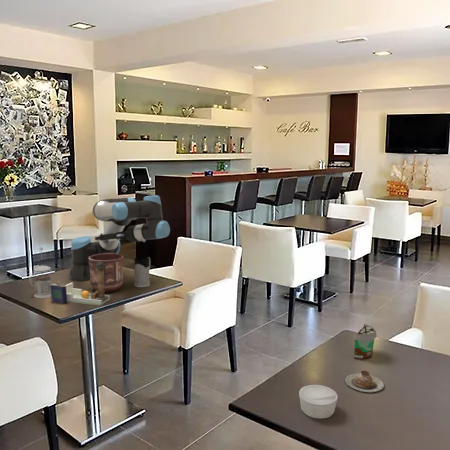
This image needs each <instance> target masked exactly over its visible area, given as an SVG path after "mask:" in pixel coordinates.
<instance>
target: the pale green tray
mask: <svg viewBox="0 0 450 450" xmlns="http://www.w3.org/2000/svg"><path fill="white" fill-rule="evenodd" d="M65 286H66V295H67V303H75V304H83V305H94V306H102V305H104V304H105V303H106V302H108V301H110V300H111V296H110V294H109V295H108V294H106V295H107V296H108V298H107V299H106V300H104V301H102V300H95V299H91V294H92V293H91V292H89V297H88V298H86V299H85V298H82V297H81V293H82V291H83V289H82V288H74V282H73V281H72V282H70V283H67V284H65Z"/></svg>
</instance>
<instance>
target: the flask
mask: <svg viewBox="0 0 450 450" xmlns="http://www.w3.org/2000/svg"><path fill="white" fill-rule="evenodd" d="M65 285H66V284H65ZM65 285H64V284H63V283H61V281H60V280H58V281H56V283H51V285H50V287H51V296H50V302H51V303H53V304H54V303H55V304H60V305H67V304H68V302H67V295H66V286H65Z"/></svg>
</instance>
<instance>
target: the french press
mask: <svg viewBox="0 0 450 450" xmlns="http://www.w3.org/2000/svg"><path fill="white" fill-rule="evenodd" d="M38 250H40V254H41V256H40V257H41V259H43V257H42V256H43V254H42V253H43V252H42V250H44V247H43V246H41V247H40V246H39V248H38ZM33 270H34V271H35V272H42V274H39V275H37V273H35V272H33V273H31V275H30V276H29V279H28V280H29V284H30V286H32V287H34V289H35V291H34V292H35V294H34V295H33V298H37V299H44V298H51V287H50V285H51V284H52V278H51V275H50V274H43V273H44V272H47V271H50V270H51V267H50V266H47V265H43V264H41V265H39V266H37V267H34V269H33ZM34 276H35V280H34V285H33V283H32V280H33V277H34Z"/></svg>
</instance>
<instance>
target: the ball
mask: <svg viewBox="0 0 450 450" xmlns="http://www.w3.org/2000/svg"><path fill="white" fill-rule="evenodd" d="M89 293H90V292H89V291H88V290H82V293H81V297H82V298H85V299H86V298H88V297H89Z"/></svg>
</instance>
